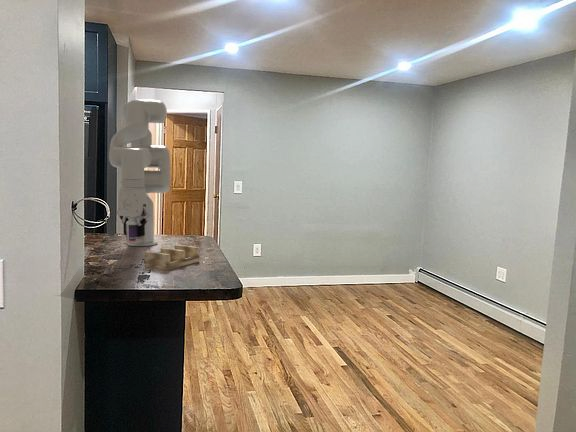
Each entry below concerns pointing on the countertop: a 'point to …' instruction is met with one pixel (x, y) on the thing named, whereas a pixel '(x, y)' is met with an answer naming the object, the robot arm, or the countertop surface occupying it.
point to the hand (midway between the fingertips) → (134, 234)
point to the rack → (172, 257)
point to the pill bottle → (132, 231)
